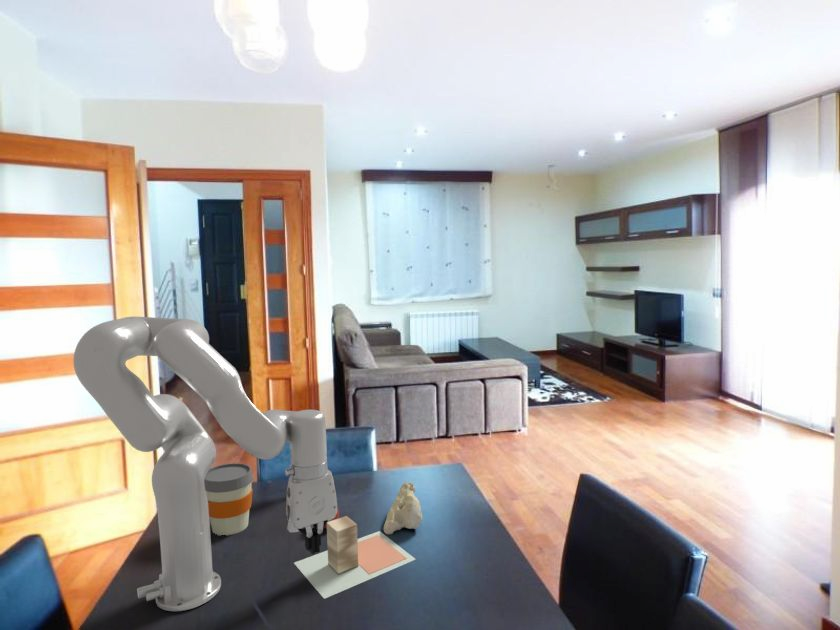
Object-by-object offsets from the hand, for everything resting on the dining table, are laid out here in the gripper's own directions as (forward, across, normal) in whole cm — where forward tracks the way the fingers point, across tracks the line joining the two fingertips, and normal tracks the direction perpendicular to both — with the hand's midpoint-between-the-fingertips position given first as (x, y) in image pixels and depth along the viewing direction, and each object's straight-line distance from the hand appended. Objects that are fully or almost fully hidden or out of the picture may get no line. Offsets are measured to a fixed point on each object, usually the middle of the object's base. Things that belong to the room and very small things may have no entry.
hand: (313, 550), depth 111 cm
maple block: (+6, +7, 0) cm, 9 cm away
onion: (+7, +12, +18) cm, 23 cm away
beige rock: (+7, +29, +10) cm, 32 cm away
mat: (+7, +10, 0) cm, 12 cm away
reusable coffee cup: (+7, -8, +35) cm, 37 cm away
